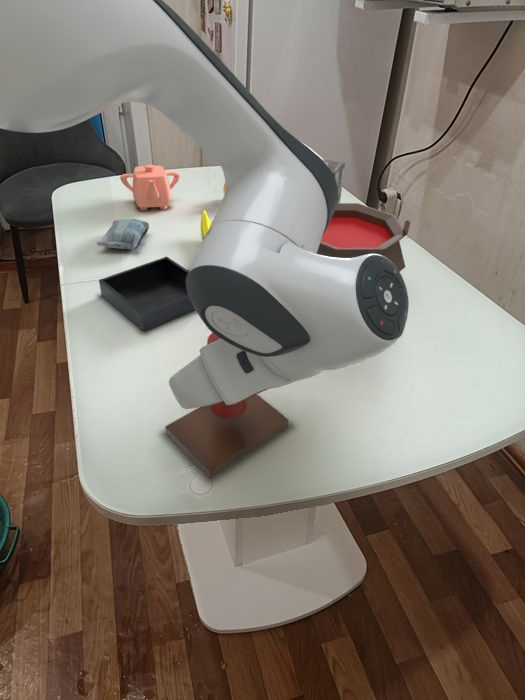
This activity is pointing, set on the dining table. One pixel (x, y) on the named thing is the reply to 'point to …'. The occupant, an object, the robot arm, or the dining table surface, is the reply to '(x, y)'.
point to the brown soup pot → (363, 234)
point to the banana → (205, 223)
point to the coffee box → (337, 173)
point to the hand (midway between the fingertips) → (224, 366)
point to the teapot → (151, 186)
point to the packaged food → (125, 234)
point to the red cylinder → (221, 407)
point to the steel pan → (149, 293)
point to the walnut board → (225, 434)
